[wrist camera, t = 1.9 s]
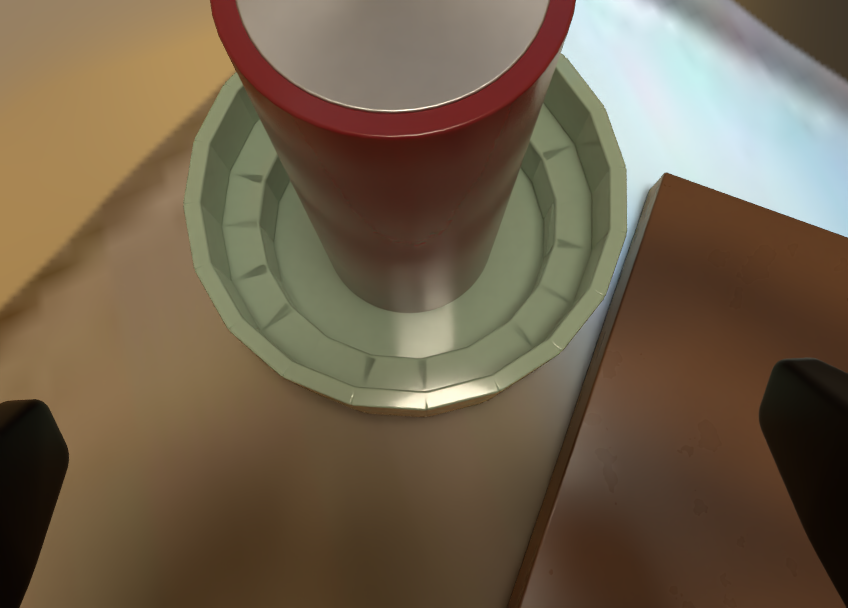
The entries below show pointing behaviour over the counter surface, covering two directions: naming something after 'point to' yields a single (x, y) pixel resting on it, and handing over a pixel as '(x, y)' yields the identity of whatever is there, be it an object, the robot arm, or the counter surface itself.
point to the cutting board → (691, 417)
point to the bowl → (409, 332)
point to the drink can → (399, 126)
